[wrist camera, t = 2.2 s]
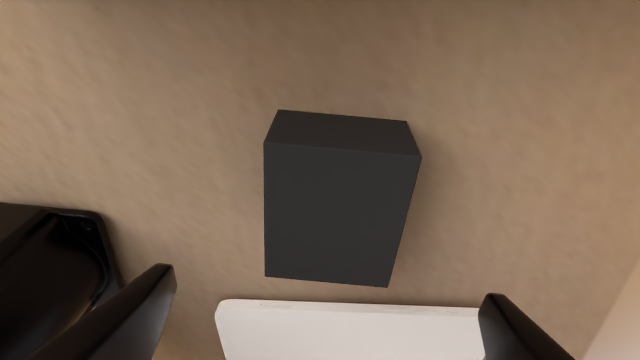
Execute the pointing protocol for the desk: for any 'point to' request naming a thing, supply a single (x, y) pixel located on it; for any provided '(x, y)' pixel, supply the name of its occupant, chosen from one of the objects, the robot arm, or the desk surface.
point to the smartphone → (346, 331)
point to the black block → (336, 196)
